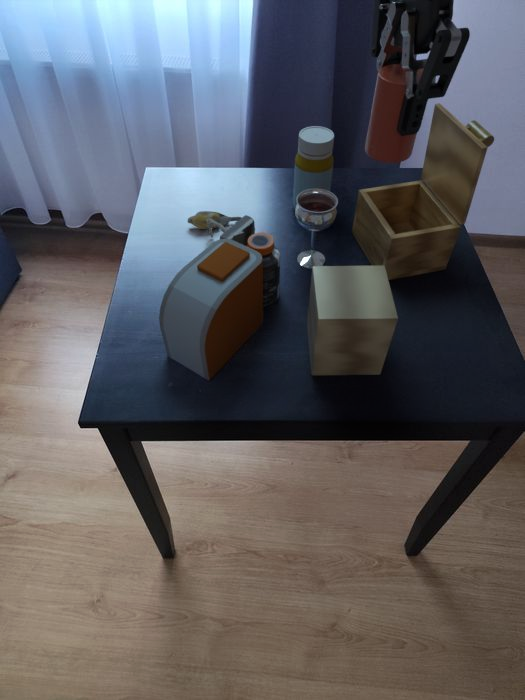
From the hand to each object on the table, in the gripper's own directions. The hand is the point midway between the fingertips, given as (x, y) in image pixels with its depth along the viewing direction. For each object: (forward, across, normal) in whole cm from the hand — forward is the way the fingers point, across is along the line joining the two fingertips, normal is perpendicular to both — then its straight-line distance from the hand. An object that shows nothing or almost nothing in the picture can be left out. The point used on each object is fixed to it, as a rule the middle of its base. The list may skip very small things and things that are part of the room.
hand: (394, 119), depth 51 cm
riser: (+32, -5, +4) cm, 32 cm away
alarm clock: (+32, +2, +21) cm, 38 cm away
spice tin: (+3, 0, 0) cm, 3 cm away
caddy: (+32, +14, -14) cm, 38 cm away
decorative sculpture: (+32, +25, +15) cm, 43 cm away
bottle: (+32, +30, -4) cm, 44 cm away
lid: (+16, +14, -19) cm, 29 cm away
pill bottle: (+32, +9, +12) cm, 36 cm away
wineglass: (+32, +16, +1) cm, 36 cm away
